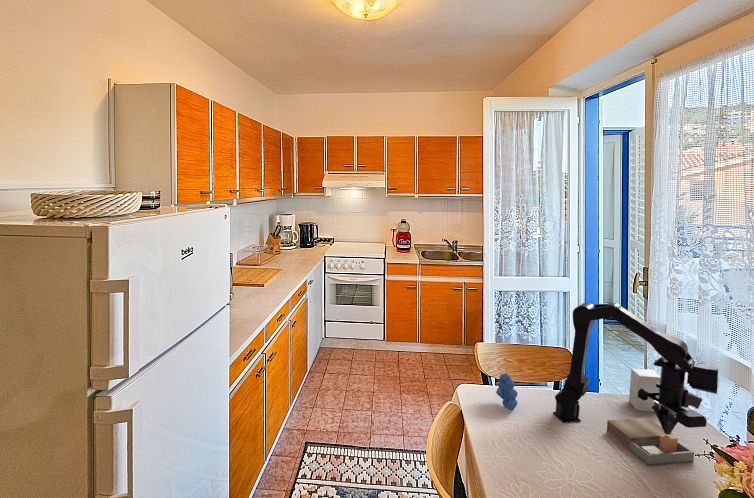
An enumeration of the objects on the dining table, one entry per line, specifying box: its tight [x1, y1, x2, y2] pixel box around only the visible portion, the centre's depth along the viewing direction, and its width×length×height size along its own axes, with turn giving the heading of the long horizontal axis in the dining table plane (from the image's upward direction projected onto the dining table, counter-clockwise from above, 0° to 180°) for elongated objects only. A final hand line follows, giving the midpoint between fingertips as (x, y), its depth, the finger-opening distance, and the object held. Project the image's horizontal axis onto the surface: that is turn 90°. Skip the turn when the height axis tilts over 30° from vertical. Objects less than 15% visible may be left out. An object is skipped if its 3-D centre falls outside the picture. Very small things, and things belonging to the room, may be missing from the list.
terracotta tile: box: [659, 434, 679, 452], centre depth 123 cm, size 4×4×2 cm
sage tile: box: [641, 446, 663, 454], centre depth 120 cm, size 4×4×2 cm
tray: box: [628, 439, 695, 467], centre depth 121 cm, size 14×7×3 cm, turn 98°
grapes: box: [495, 372, 519, 412], centre depth 149 cm, size 12×7×12 cm, turn 9°
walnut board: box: [606, 417, 674, 451], centre depth 130 cm, size 14×10×4 cm
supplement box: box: [628, 368, 661, 413], centre depth 150 cm, size 7×7×13 cm
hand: (667, 433), depth 124 cm, fingers closed
